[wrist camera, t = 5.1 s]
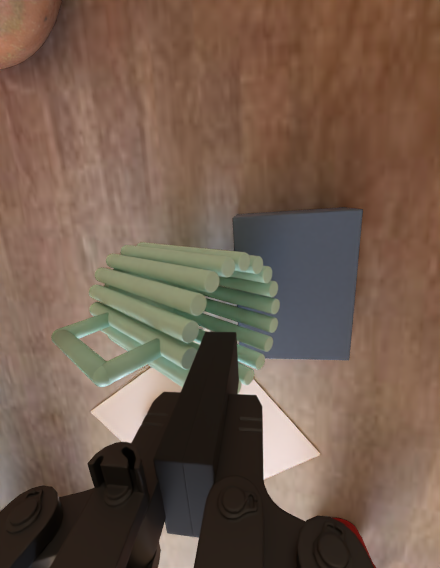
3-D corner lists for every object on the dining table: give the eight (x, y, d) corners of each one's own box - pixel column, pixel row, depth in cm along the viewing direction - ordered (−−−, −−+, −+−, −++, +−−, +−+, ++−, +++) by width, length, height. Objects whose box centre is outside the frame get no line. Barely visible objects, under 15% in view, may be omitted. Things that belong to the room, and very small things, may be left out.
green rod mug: (140, 321, 28) (17, 448, 14) (125, 238, 25) (-46, 290, 11) (275, 321, 26) (294, 472, 12) (274, 230, 23) (298, 282, 9)
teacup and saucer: (180, 390, 30) (169, 419, 26) (225, 437, 31) (220, 470, 27) (131, 423, 33) (114, 453, 29) (174, 464, 34) (162, 499, 30)
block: (242, 335, 27) (240, 358, 23) (236, 214, 23) (232, 217, 19) (336, 336, 25) (349, 360, 22) (345, 207, 22) (363, 209, 18)
